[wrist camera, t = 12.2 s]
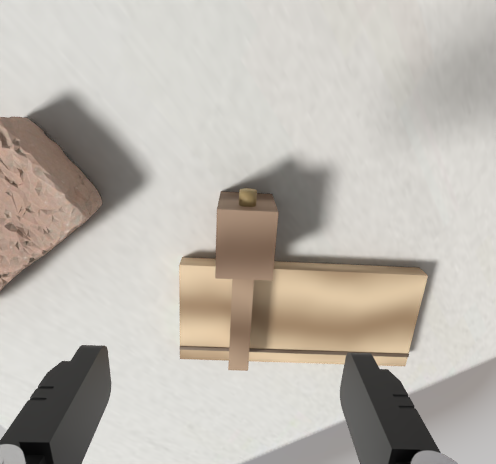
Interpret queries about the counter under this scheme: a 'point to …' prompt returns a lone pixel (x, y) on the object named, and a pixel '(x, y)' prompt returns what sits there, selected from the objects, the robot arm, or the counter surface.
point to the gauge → (244, 259)
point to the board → (304, 312)
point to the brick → (37, 196)
